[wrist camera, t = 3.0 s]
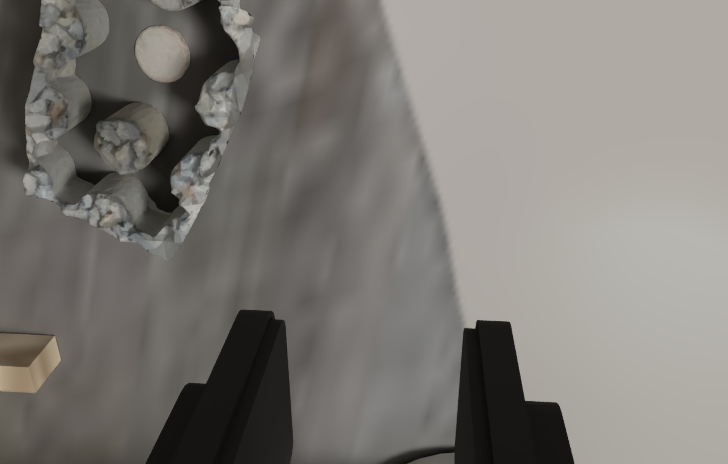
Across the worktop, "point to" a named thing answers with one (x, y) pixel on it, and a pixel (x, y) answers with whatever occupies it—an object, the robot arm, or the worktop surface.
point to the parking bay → (26, 361)
